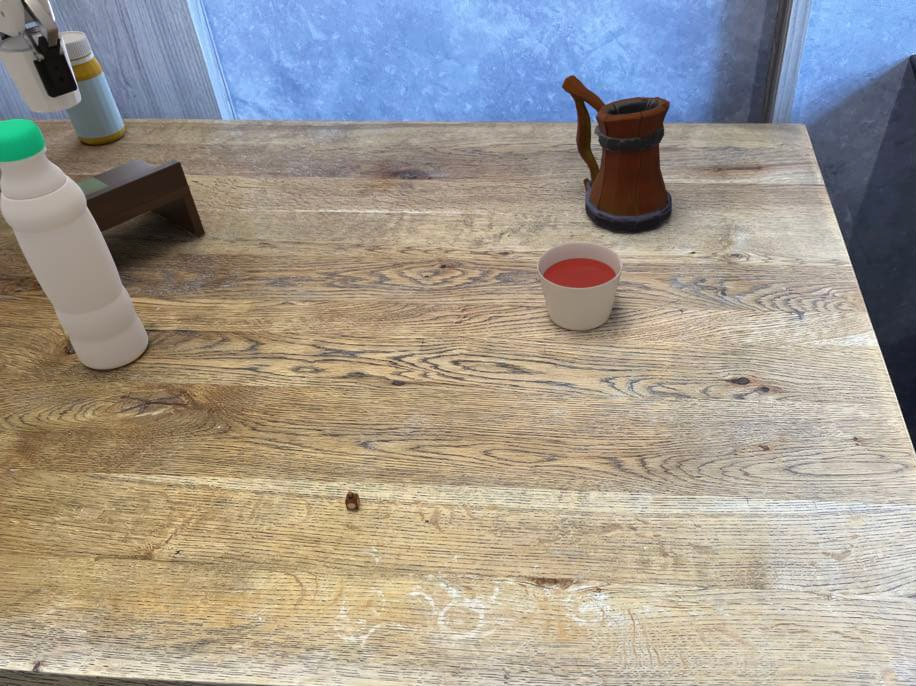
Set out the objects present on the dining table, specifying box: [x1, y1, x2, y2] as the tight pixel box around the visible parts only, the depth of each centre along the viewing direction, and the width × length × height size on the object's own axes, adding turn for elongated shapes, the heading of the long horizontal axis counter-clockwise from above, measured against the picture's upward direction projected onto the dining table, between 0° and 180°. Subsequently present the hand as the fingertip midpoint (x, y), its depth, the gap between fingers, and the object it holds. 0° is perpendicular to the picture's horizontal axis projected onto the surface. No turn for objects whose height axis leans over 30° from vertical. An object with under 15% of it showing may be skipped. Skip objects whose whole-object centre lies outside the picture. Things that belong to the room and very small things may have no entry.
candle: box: [536, 241, 623, 331], centre depth 88 cm, size 9×9×6 cm
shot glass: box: [0, 32, 81, 114], centre depth 92 cm, size 7×7×7 cm
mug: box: [561, 74, 673, 233], centre depth 103 cm, size 18×12×15 cm, turn 38°
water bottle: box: [0, 118, 149, 371], centre depth 79 cm, size 7×7×25 cm
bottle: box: [58, 30, 126, 146], centre depth 124 cm, size 7×7×15 cm
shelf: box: [75, 158, 206, 238], centre depth 101 cm, size 12×16×10 cm
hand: (47, 84), depth 93 cm, fingers closed on shot glass, 6 cm apart
